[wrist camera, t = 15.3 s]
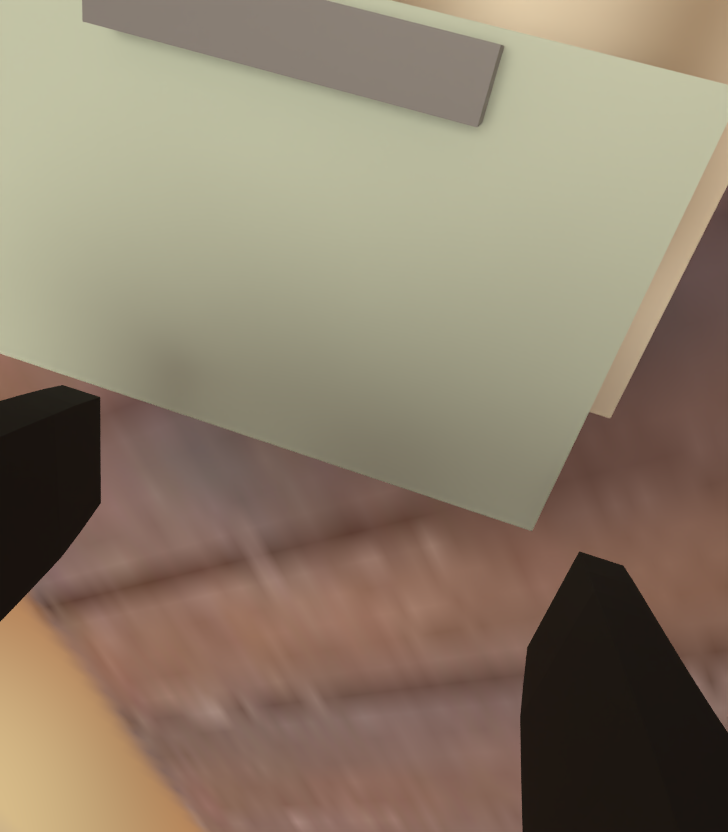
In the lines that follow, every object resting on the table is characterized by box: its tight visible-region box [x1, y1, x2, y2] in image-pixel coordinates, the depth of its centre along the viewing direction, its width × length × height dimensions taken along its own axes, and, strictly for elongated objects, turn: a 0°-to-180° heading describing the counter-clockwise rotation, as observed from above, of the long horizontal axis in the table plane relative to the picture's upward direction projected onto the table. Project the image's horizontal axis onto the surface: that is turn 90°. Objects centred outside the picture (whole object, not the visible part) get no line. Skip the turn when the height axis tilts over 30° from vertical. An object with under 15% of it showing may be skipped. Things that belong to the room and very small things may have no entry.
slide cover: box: [0, 0, 728, 531], centre depth 13 cm, size 12×8×6 cm, turn 77°
